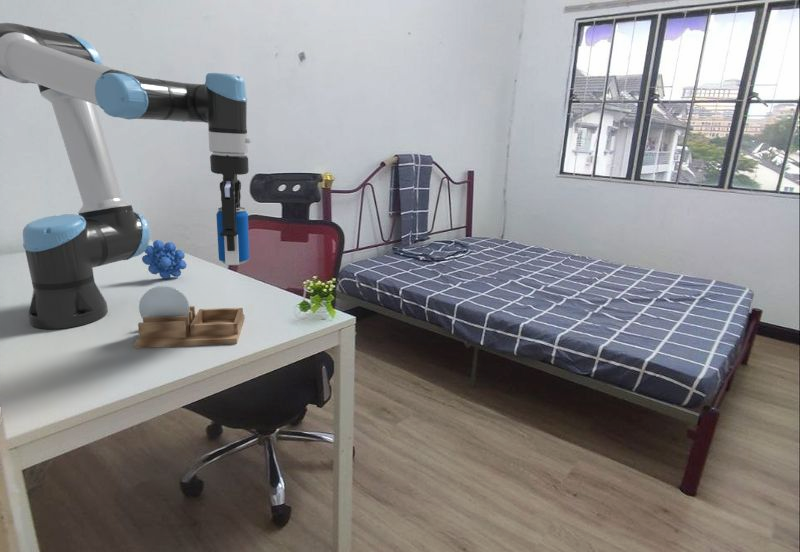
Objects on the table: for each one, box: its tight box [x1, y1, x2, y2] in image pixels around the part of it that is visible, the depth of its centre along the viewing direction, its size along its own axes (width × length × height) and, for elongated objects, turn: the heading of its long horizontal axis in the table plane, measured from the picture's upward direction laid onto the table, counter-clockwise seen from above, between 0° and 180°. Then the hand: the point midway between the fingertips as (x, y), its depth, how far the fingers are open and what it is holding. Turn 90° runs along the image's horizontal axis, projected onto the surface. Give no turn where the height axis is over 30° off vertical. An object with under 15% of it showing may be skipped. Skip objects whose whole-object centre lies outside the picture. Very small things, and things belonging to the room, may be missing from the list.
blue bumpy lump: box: [141, 239, 188, 280], centre depth 137 cm, size 12×7×12 cm, turn 120°
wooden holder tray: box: [134, 305, 246, 349], centre depth 104 cm, size 20×14×5 cm
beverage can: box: [216, 206, 250, 265], centre depth 102 cm, size 6×6×12 cm
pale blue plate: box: [138, 285, 191, 319], centre depth 101 cm, size 10×1×10 cm, turn 101°
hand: (233, 259), depth 104 cm, fingers closed on beverage can, 6 cm apart
